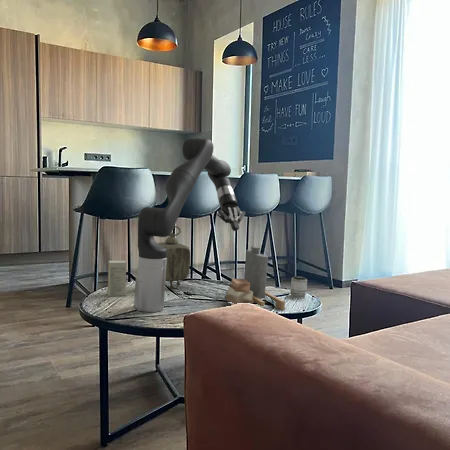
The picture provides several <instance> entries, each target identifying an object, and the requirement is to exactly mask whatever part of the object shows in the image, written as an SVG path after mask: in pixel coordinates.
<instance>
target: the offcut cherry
mask: <svg viewBox="0 0 450 450" xmlns="http://www.w3.org/2000/svg"><path fill="white" fill-rule="evenodd" d="M230 284H231V287H232V288H233V289H234V290H235V291H236V292H250V283H249V282H248V281H247V280H245V279H244V278H231V283H230Z"/></svg>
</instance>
